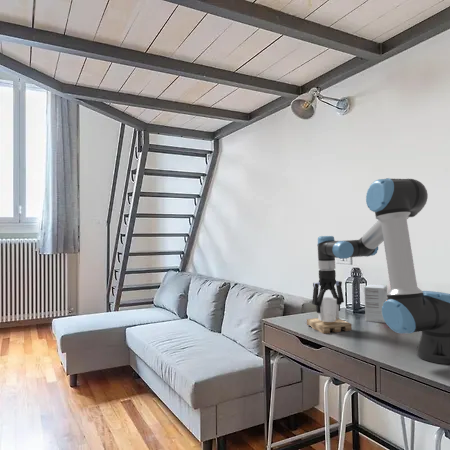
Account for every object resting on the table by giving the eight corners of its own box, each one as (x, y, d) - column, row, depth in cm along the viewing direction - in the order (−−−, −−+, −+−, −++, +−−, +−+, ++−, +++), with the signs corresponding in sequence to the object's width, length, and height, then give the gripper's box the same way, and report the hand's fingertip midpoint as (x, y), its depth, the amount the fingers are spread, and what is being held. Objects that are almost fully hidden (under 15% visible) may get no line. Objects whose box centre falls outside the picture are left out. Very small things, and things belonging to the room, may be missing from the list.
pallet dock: (351, 330, 184) (351, 323, 184) (323, 333, 181) (323, 326, 181) (332, 322, 200) (332, 316, 200) (307, 325, 196) (306, 319, 196)
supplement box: (369, 317, 208) (368, 284, 208) (388, 318, 204) (387, 284, 204) (365, 321, 200) (363, 286, 200) (384, 323, 195) (383, 287, 195)
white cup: (335, 318, 191) (335, 297, 191) (338, 322, 184) (338, 300, 184) (318, 318, 192) (318, 297, 192) (321, 322, 184) (320, 300, 184)
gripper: (342, 267, 194) (343, 315, 194) (302, 270, 189) (304, 319, 189) (351, 268, 187) (352, 318, 187) (310, 271, 181) (312, 323, 181)
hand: (328, 319), depth 188 cm, fingers open, 8 cm apart
